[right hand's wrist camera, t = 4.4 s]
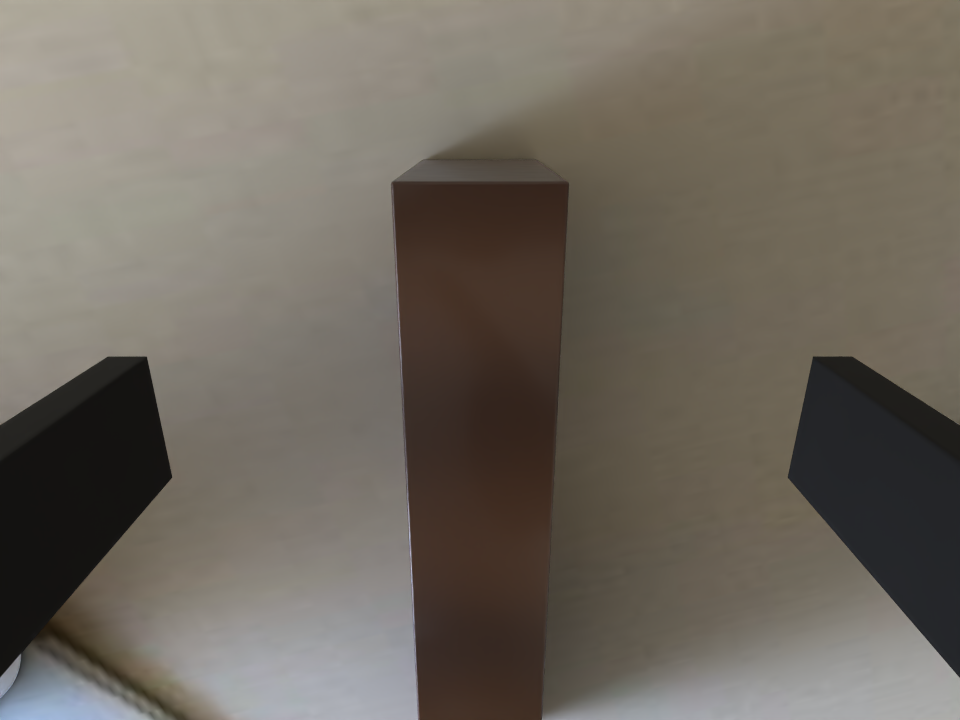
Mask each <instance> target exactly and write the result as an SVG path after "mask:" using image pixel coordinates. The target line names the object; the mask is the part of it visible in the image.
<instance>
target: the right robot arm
mask: <svg viewBox="0 0 960 720" xmlns="http://www.w3.org/2000/svg"><path fill="white" fill-rule="evenodd" d="M171 478H172V474H171V469H170V465H169V460H168V455H167V450H166V446H165V441H164V436H163V431H162V427H161V422H160V417H159V412H158V408H157V403H156V398H155V393H154V389H153V384H152V379H151V374H150V369H149V365H148V360H147V357H107V358H105V359H104V360H102V361H100V362H99V363H97V364H96V365H94V366H93V367H91V368H89V369H88V370H86V371H85V372H83V373H82V374H80V375H78V376H77V377H75V378H74V379H72V380H71V381H69V382H68V383H66V384H64V385H63V386H61V387H60V388H58V389H57V390H55V391H53V392H52V393H50V394H49V395H47V396H46V397H44V398H42V399H41V400H39V401H38V402H36V403H35V404H33V405H32V406H30V407H28V408H27V409H25V410H24V411H22V412H21V413H19V414H17V415H16V416H14V417H13V418H11V419H10V420H8V421H6V422H5V423H3V424H2V425H0V677H1V676H2V675H3V674H4V673H5V671H6V670H7V669H8V668H9V667H10V666H11V664H12V663H13V662H14V661H15V660H16V659H17V658H18V656H19V655H20V654H21V653H22V652H23V651H24V649H25V648H26V647H27V646H28V645H29V644H30V642H31V641H32V640H33V639H34V638H35V637H36V635H37V634H38V633H39V632H40V631H41V630H42V628H43V627H44V626H45V625H46V624H47V623H48V621H49V620H50V619H51V618H52V617H53V616H54V614H55V613H56V612H57V611H58V610H59V609H60V607H61V606H62V605H63V604H64V603H65V602H66V600H67V599H68V598H69V597H70V596H71V595H72V593H73V592H74V591H75V590H76V589H77V588H78V586H79V585H80V584H81V583H82V582H83V581H84V579H85V578H86V577H87V576H88V575H89V574H90V573H91V571H92V570H93V569H94V568H95V567H96V566H97V564H98V563H99V562H100V561H101V560H102V559H103V557H104V556H105V555H106V554H107V553H108V552H109V550H110V549H111V548H112V547H113V546H114V545H115V543H116V542H117V541H118V540H119V539H120V538H121V536H122V535H123V534H124V533H125V532H126V531H127V529H128V528H129V527H130V526H131V525H132V524H133V522H134V521H135V520H136V519H137V518H138V517H139V515H140V514H141V513H142V512H143V511H144V510H145V508H146V507H147V506H148V505H149V504H150V503H151V501H152V500H153V499H154V498H155V497H156V496H157V495H158V493H159V492H160V491H161V490H162V489H163V488H164V486H165V485H166V484H167V483H168V482H169V481H170V479H171ZM788 478H789V479H790V481H791V482H792V483H793V484H794V485H795V486H796V488H797V489H798V490H799V491H800V492H801V493H802V495H803V496H804V497H805V498H806V499H807V500H808V501H809V503H810V504H811V505H812V506H813V507H814V508H815V510H816V511H817V512H818V513H819V514H820V515H821V517H822V518H823V519H824V520H825V521H826V522H827V524H828V525H829V526H830V527H831V528H832V529H833V531H834V532H835V533H836V534H837V535H838V536H839V538H840V539H841V540H842V541H843V542H844V543H845V545H846V546H847V547H848V548H849V549H850V550H851V552H852V553H853V554H854V555H855V556H856V557H857V559H858V560H859V561H860V562H861V563H862V564H863V566H864V567H865V568H866V569H867V570H868V571H869V573H870V574H871V575H872V576H873V577H874V578H875V579H876V581H877V582H878V583H879V584H880V585H881V586H882V588H883V589H884V590H885V591H886V592H887V593H888V595H889V596H890V597H891V598H892V599H893V600H894V602H895V603H896V604H897V605H898V606H899V607H900V609H901V610H902V611H903V612H904V613H905V614H906V616H907V617H908V618H909V619H910V620H911V621H912V623H913V624H914V625H915V626H916V627H917V628H918V630H919V631H920V632H921V633H922V634H923V635H924V637H925V638H926V639H927V640H928V641H929V642H930V644H931V645H932V646H933V647H934V648H935V649H936V651H937V652H938V653H939V654H940V655H941V656H942V658H943V659H944V660H945V661H946V662H947V663H948V664H949V666H950V667H951V668H952V669H953V670H954V671H955V673H956V674H957V675H958V676H959V677H960V425H958V424H957V423H955V422H954V421H952V420H950V419H949V418H947V417H946V416H944V415H943V414H941V413H939V412H938V411H936V410H935V409H933V408H932V407H930V406H928V405H927V404H925V403H924V402H922V401H921V400H919V399H918V398H916V397H914V396H913V395H911V394H910V393H908V392H907V391H905V390H903V389H902V388H900V387H899V386H897V385H896V384H894V383H892V382H891V381H889V380H888V379H886V378H885V377H883V376H882V375H880V374H878V373H877V372H875V371H874V370H872V369H871V368H869V367H867V366H866V365H864V364H863V363H861V362H860V361H858V360H856V359H855V358H853V357H813V360H812V365H811V369H810V374H809V379H808V384H807V389H806V393H805V398H804V403H803V408H802V412H801V417H800V422H799V427H798V431H797V436H796V441H795V446H794V450H793V455H792V460H791V465H790V469H789V474H788Z"/></svg>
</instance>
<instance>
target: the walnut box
mask: <svg viewBox="0 0 960 720" xmlns="http://www.w3.org/2000/svg"><path fill="white" fill-rule="evenodd" d="M391 193H392V212H393V232H394V252H395V272H396V292H397V311H398V331H399V351H400V371H401V390H402V410H403V430H404V450H405V469H406V489H407V509H408V529H409V549H410V568H411V588H412V608H413V628H414V647H415V667H416V687H417V707H418V720H542V707H543V687H544V667H545V647H546V628H547V608H548V588H549V568H550V549H551V529H552V509H553V489H554V470H555V450H556V430H557V410H558V391H559V371H560V351H561V331H562V312H563V292H564V272H565V252H566V233H567V213H568V193H569V183H568V182H567V181H566V180H565V179H563V178H562V177H560V176H559V175H558V174H556V173H555V172H553V171H552V170H551V169H549V168H548V167H546V166H545V165H544V164H542V163H541V162H539V161H538V160H422V161H421V162H419V163H418V164H416V165H415V166H414V167H412V168H411V169H409V170H408V171H407V172H405V173H404V174H402V175H401V176H400V177H398V178H397V179H395V180H394V181H393V182H392V183H391Z"/></svg>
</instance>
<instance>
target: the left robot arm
mask: <svg viewBox="0 0 960 720" xmlns="http://www.w3.org/2000/svg"><path fill="white" fill-rule="evenodd" d="M20 663H21V654H20V655H19V656H18V658H17V659H16V660H15V661H14V662H13V663H12V664H11V666H10V667H9V668H8V669H7V670H6V671H5V673H4V674H3V675H2V676H1V677H0V698H1V697H2V696H3V695H4V694H5V693H6V692H7V691H8V690H9V688H10V687H11V686H12V684H13V682H14V681H15V679H16V677H17V674H18V671H19V668H20Z"/></svg>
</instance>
